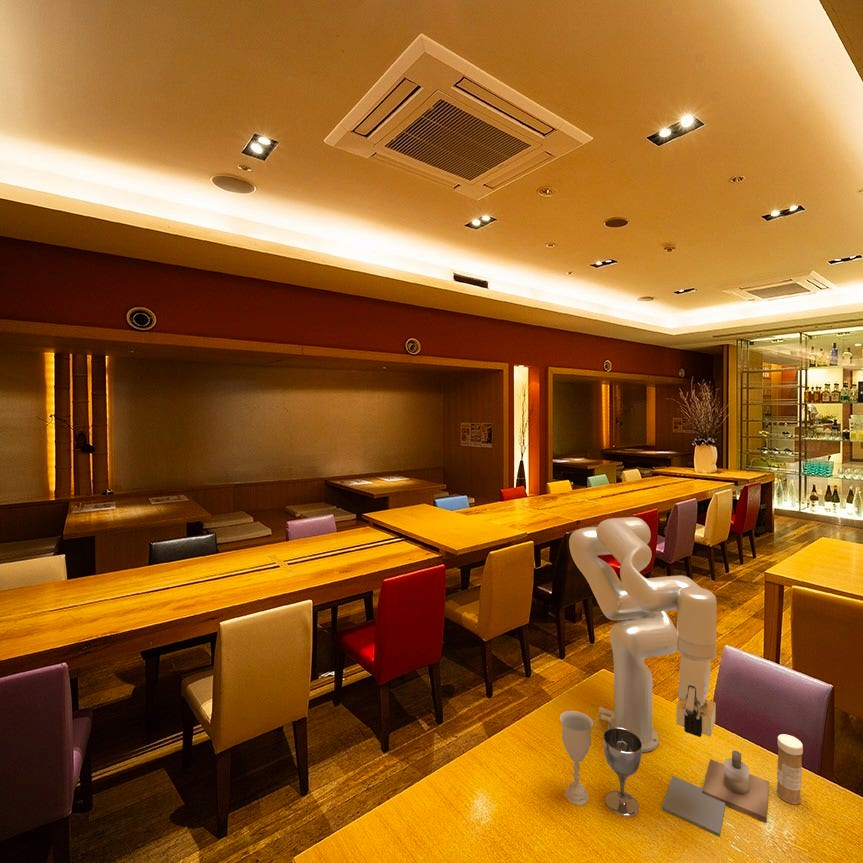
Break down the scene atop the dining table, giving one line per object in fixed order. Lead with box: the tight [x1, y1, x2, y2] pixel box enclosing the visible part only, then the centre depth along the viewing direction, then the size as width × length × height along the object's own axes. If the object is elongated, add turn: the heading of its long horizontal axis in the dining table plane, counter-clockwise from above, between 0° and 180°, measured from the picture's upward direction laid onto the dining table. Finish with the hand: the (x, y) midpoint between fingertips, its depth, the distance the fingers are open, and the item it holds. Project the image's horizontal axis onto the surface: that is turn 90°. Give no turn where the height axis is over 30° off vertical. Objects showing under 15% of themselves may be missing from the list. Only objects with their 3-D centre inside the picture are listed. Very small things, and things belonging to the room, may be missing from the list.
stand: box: [702, 750, 770, 824], centre depth 109 cm, size 12×12×9 cm
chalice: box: [559, 710, 594, 806], centre depth 108 cm, size 7×7×18 cm
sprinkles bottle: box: [776, 733, 804, 805], centre depth 107 cm, size 5×5×14 cm
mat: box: [661, 775, 726, 837], centre depth 106 cm, size 11×11×1 cm
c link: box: [676, 698, 717, 737], centre depth 104 cm, size 7×7×4 cm
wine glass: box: [603, 728, 643, 818], centre depth 106 cm, size 8×8×15 cm
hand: (695, 723), depth 105 cm, fingers closed on c link, 6 cm apart
